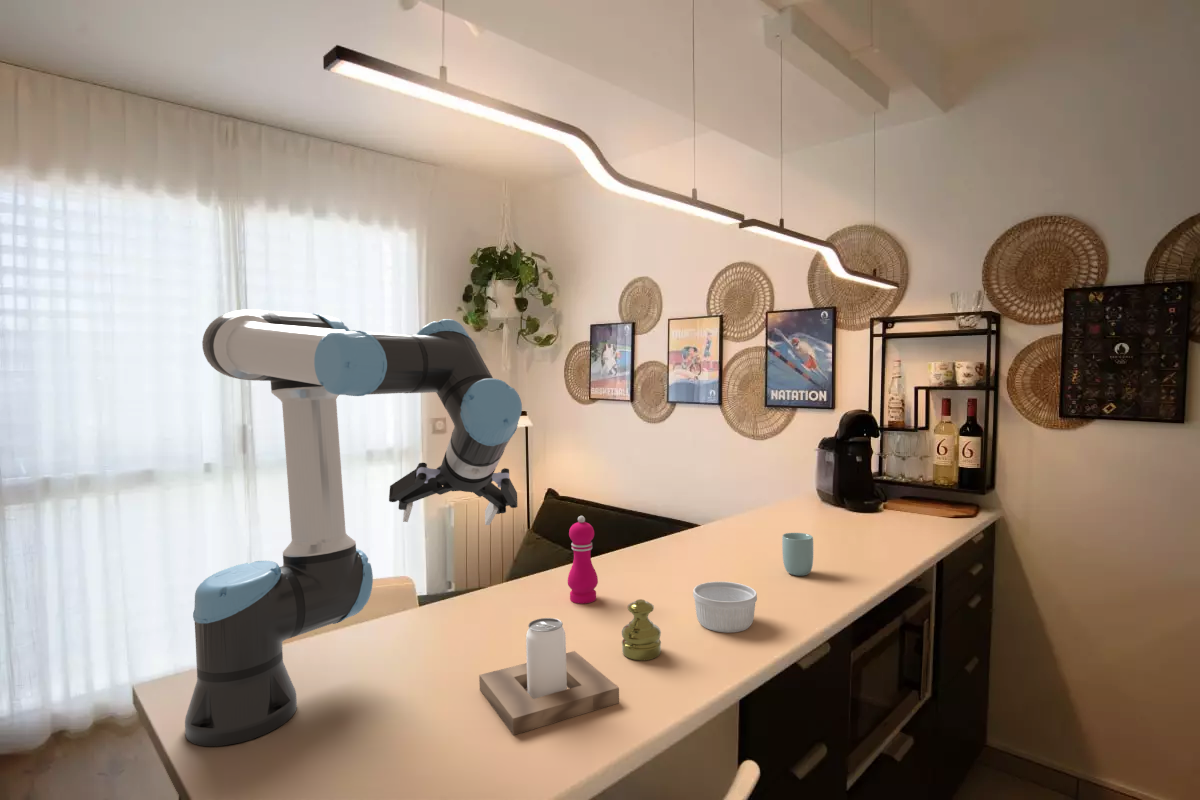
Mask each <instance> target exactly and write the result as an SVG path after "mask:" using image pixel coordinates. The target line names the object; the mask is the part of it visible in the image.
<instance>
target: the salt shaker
mask: <svg viewBox="0 0 1200 800" xmlns="http://www.w3.org/2000/svg"><path fill="white" fill-rule="evenodd" d="M654 609H655V607H654V605H653V603H651V602H649V601H646V600H645V599H636V600H634V601H632V602H630V603H629V604H628V605H627V611H629V612H630V613H631V614H632V615H633V619H631V621H629V622H628V624H625V626H623V627H622V629H621V636H622V638H623V639H622V641H621V644H622V647H621V648H622V651H621V652H622V654H623V655H624V656H625V657H626V658H628V659H631V660H634V661H648V660H649V661H650V660H653V659H655V658H658V657H659V656H660V654H661V652H662V647H661V644H662V642H661V639H660V638H661V634H662V630H661V629H660V627H659V626H658V625H657V624H654V622H653V621H651V620H650V618H649V615H650V614H651V612H653V611H654Z"/></svg>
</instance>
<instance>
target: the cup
mask: <svg viewBox="0 0 1200 800" xmlns="http://www.w3.org/2000/svg"><path fill="white" fill-rule="evenodd" d="M781 539H782V542H781V545H782V550H781V551H782V561H783V566H784V569H785V571H786V572H787V573H789V574H790V575H792V576H795V577H796V576H797V577H803V576H807V575H808V574H810V573H811V572H812V569H813V565H814V537H813V535H811V534H808V533H804V532H787V533H786V532H785V533H784V534H782V538H781Z"/></svg>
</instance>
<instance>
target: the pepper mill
mask: <svg viewBox="0 0 1200 800" xmlns="http://www.w3.org/2000/svg"><path fill="white" fill-rule="evenodd" d="M568 531H569V532H568V536H569V538H570V540H571V541H572V542H571V544H570V545H571V550H572V551H573V561H572V564H571V567H570V570H569V573H568V576H567V585H568V587H569V588H570V589H571V590H570V591H569V600H570V602H573V603H575V604H582V605H583V604H584V605H585V604H589V603H594V602H595V601H596V600H597V591H596V590H595V588H596V587H597V586H598V585H599V580H598V579H599V578H598V574H597V571H596V570H595V569H596V568H594V565H593V563H592V558H591V554H592V553H591V551H592V549H593V541H592V540H593V539H594V537H595V530H594V527H593V526H592V525H591V524H590V523H588V522H586V518H585V517H584V516H583V515H580V516H578V517H577V522H575V523H572V525H571V526H570V528H569V530H568Z"/></svg>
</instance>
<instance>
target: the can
mask: <svg viewBox="0 0 1200 800" xmlns="http://www.w3.org/2000/svg"><path fill="white" fill-rule="evenodd" d="M527 627H528V630H527V631H526V635H525V637H526V638H525V643H526V645H525V646H526V647H525V649H526V651H525V652H526V663H527V688H526V689H527V692H528V694H529V695H530V696H531V697H532V698H533V699H535V698H538V697H542V696H546V695H549V694H553V693H556V692H560V691H563V690H567V689H568V686H567V672H566V653H567V646H566V645H567V643H566V642H567V641H566V638H567V637H566V630H565V629H564V627H563V621H561V620H560V619H558V618H553V617H544V618H543V617H541V618H537V619H534V620H532V621H530V622H529V623H528V626H527Z"/></svg>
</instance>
